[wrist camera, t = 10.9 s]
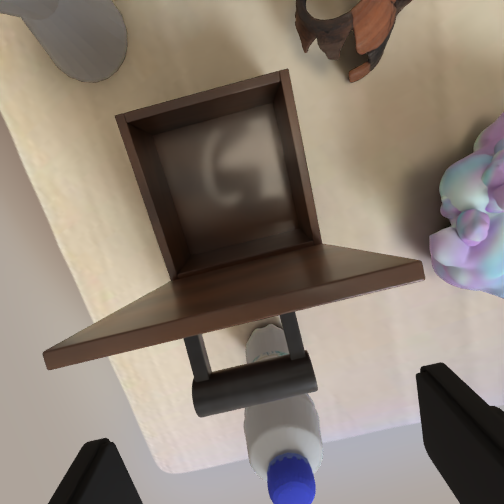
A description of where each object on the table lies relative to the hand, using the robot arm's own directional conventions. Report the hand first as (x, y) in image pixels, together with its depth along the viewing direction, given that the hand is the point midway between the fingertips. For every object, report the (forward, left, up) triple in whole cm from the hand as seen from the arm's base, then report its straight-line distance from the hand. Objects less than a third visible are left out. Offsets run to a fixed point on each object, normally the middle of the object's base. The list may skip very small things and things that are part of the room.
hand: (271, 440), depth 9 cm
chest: (-7, -3, -27) cm, 28 cm away
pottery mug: (-24, +8, -28) cm, 37 cm away
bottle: (+13, +4, -28) cm, 31 cm away
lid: (-1, -1, -11) cm, 11 cm away
